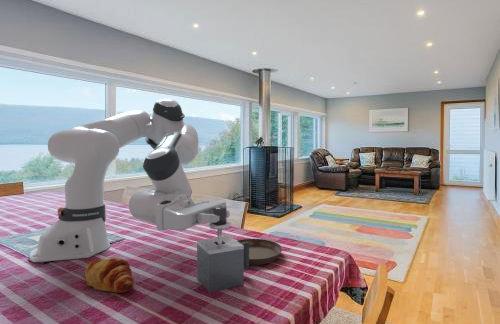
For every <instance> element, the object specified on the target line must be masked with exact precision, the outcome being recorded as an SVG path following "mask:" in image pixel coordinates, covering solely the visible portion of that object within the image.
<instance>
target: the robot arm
mask: <svg viewBox="0 0 500 324" xmlns="http://www.w3.org/2000/svg"><path fill="white" fill-rule="evenodd" d="M153 105H154V106H153V108H152V111H153V112H152V114H151V115H152V116H151V115H150V114H149V113H148V112H146V111H144V110H143V109H142V110H141V109H137V110H129V111H126V112H121V113H119V114H115V115H114V116H111V117H108V118H105V119H101V120H97V121H93V122H90V123H86V124H82V125H79V126H74V127H71V128H68V129H67V128H66V129H64V130H60V131H57V132H55V133H53V134H52V135H51V136H50V137H49V139H48V141H47V150H48V152H49V154H50V155H51V156H52V157H53V158H54V159H56V160H57V161H58V160H59V161H61V162H64V163H68V164H70V163H71V164H74V168H73V171H72V173H71V176H70V177H69V178H68V179H67V180H66V182H65V184H64V194H65V195H64V196H65V197H64V198H65V202H64V203H65V207H64V206H60V207H58V208H57V216H58V217H57V218H58V220H57V221H55V222H54V223H53V224H52V225H50V226H49V227H48V228H47V229H45V230H44V231H43V232H42V233H41V234H40V236H39V239H38V242H37V246H36V247H34V248H33V249H32V250H31V251H30V252H29V261H30V262H32V263H43V262H51V261H53V262H55V261H65V260H67V261H68V260H76V259H77V260H78V259H87V258H91V257H92V256H94V255H96V254H99V253H101V252H104V251H106V250H108V249H109V248H110V247H111V244H110V240H109V236H108V234H107V227H106V226H107V225H106V221H107V220H106V219H107V208H106V204H105V203H104V202H105V201H104V200H105V199H104V197H105V195H104V194H105V193H104V191H105V190H104V189H105V187H104V186H105V185H104V184H105V178H106V175H107V171H108V169H109V166H110V165H111V163H112V162H113V161H114V160H115V159H116V158H117V157H118V155H119V153H120V149H122V148H124V147H126V146H127V145H130V144H132V143H134V142H135V141H137V140H139V139H142V138H145V139H144V140H145V142H146V144H148V145H149V146H150V147H151V148H152V149H153V150H152V151H151V152H149V153H148V154H147V155H146V156H145V158H144V161H143V162H142V163H143V164H142V168H143V170H144V172H145V174H146V175H147V176H148V178H149V180H150V182H151V184H152V186H153V188H152V189H150V190H148V191H138V192H135V193H133V194H132V195H131V196H130V198H129V202H128V209H129V212H130V214H131V216H132V217H133V218H134V219H136V220H138V221H140V222H144V223H147V224H151V225H152V224H154V225H156V230H158V231H166V230H168V231H169V230H170V231H185V230H187V229H190V228H192V227H195V226H198V225H200V224H205V223H211V222H213V223H216V222H218V221H219V220H220V219H219V218H220V216H219V214H213V207H219V206H222V207H226V208H227V202H226V201H224V200H213V199H203V200H199V201H195V202H194V201H193V200H192V198H191V195H192V194H193V193H192V192H193V189H192V186H191V184H190V182H189V180H188V177H187V175H186V172H185V170H184V168H183V165H187V164H190V163H192V162H193V161H195V159H196V157H197V154H198V150H199V136H198V132H197V130H196V128H195V127H193V126H192V125H190V124H187V123H185V122H184V119H185V117H186V115H185V114H184V113H183V110H182V107H181V105H180V103H178V102H177V101H176V100H174V99H171V98H160V99H158V100H156V101H155V103H154V104H153ZM230 213H231V212H230V210H227V219H228V218H230Z"/></svg>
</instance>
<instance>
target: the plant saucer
mask: <svg viewBox="0 0 500 324" xmlns="http://www.w3.org/2000/svg"><path fill="white" fill-rule="evenodd" d="M236 241H238V242H239V243H242V242H248V243H249V266H259V265H260V266H261V265H267V264H270V263H272V262H274V261H275V260H277V259H278V258H279V256H280V255H281V253H282V252H283V247H282V245H281V244H280V243H277V242H276V241H273V240H268V239H263V238H242V239H237V240H236Z"/></svg>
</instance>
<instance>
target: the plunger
mask: <svg viewBox="0 0 500 324" xmlns="http://www.w3.org/2000/svg"><path fill="white" fill-rule="evenodd" d="M227 208H228V207H227V206H226V207H222V206H219V207H213V214H219V216H220V218H219V219H220V220H219V221H218V222H216V223H213V222H208V223H209V225H208V227H209V229H212V230H217V232H216V233H217V236H216V238H217V245H220V244H222V237H223V230H227V229H230V228H231V222H229V221H228V218H227Z"/></svg>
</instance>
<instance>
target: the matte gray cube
mask: <svg viewBox="0 0 500 324" xmlns="http://www.w3.org/2000/svg"><path fill="white" fill-rule="evenodd" d="M249 269H250V265H249V243H248V242H242V243H239V242H238V241H237V240H236V239H234V237H232V236H230V235H224V236H222V244H220V245H217V237H211V238H205V239H197V240H196V271H197V272H196V274H197V277H196V278H197V280H198V281H199V282H200V283H201V284H202V286H203V287H204V288H205V290H206V291H207V292H208V293H209V294H210V293H214V292H217V291H218V292H219V291H224V290H227V289H228V290H229V289H231V288H236V287H237V288H238V287H240V286H244V281H245V280H244V276H245V275H244V272H245V271H246V270H249Z"/></svg>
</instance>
